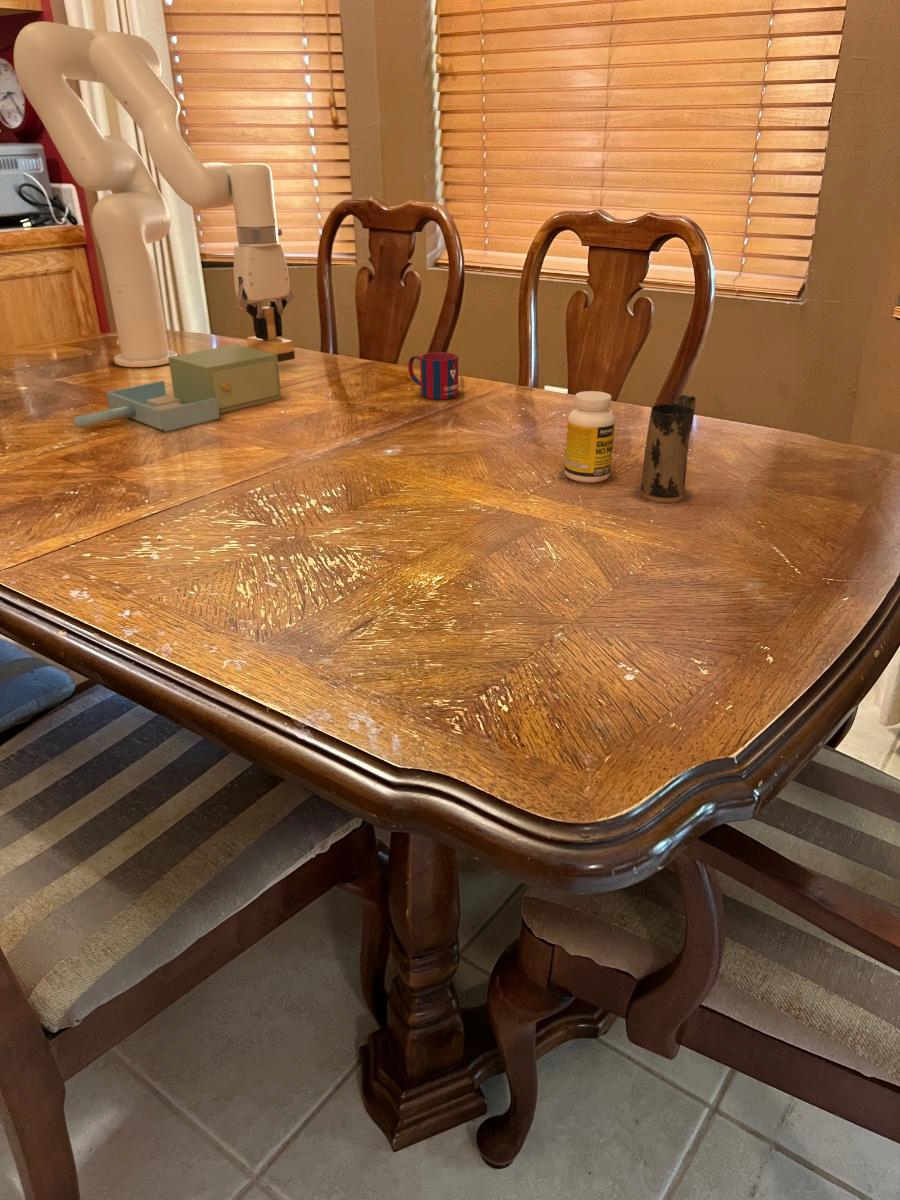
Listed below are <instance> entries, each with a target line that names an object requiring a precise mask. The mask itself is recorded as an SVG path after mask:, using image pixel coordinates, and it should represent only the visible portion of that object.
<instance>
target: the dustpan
mask: <svg viewBox="0 0 900 1200" xmlns="http://www.w3.org/2000/svg"><path fill="white" fill-rule="evenodd" d="M105 393H106V399H107V404H108V409H104V410H101V411H96V412H92V413H86V414H82V415H77V416H74V418H73V419H72V423H73V425H74V426H75V427H76V428H78V429H83V428H87V427H92V426H97V425H100V424H105V423H110V422H114V421H118V420H122V419H123V420H124V419H128V418H129V419H131V420H134V421H137V422H139V423H142V424H144V425H147V426H149V427H153V429H156V430H160V431H162V432H164V433H165V432H170V431H174V430H178V429H183V428H186V427H190V426H194V425H199V424H203V423H207V422H211V421H215V420H219V419H220V414H219V410H218V403H217V398H212V399H207V400H203V401H198V402H194V403H189V404H182V403H180V404H181V405H180V406H176V407H171V408H167V409H162V410H159V409H156V408H153V407H150V406H147V401H146V400H149V399H153V398H158V397H163V396H167V392H166V385H165V381H164V380H160V381H155V382H150V383H145V384H140V385H133V386H130V387H125V388H119V389H115V390H110V391H106V392H105Z"/></svg>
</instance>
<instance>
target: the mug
mask: <svg viewBox="0 0 900 1200" xmlns="http://www.w3.org/2000/svg"><path fill="white" fill-rule="evenodd" d="M696 402H697V401H696V397H695V396H694V395H687V394H682V395H680V396H679V397H678V398H677V399H676V400H675V401H673V402H672V403H671V404H670V403H665V404H656V405H654V406H652V407H651V411H650V416H649V421H648V427H647V434H646V440H645V448H644V456H643V465H642V472H641V484H640V485H641V486H640V495H641V496H642V498H645V499H646V500H649V501H653V502H659V503H674V502H678V501H681V500H683V499H684V498H685V494H686V493H685V490H686V473H687V465H688V464H687V463H688V451H689V445H690V437H691V432H692V427H693V422H694V416H695V408H696V405H697V404H696Z"/></svg>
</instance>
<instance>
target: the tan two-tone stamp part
mask: <svg viewBox="0 0 900 1200" xmlns="http://www.w3.org/2000/svg"><path fill="white" fill-rule="evenodd" d="M262 310H263V318H265V319H266V326H267V335H268V338H267V339H260V338H256V335H253V336H247V337H246V341H247V347H249V348H253V349H257V350H261V351H265V352H269V353H273V354H277V359H278V363H281V362H287V361H291V360H295V359H296V356H295V355H296V354H295V346H294V345H295V343H294V340H292V339H286V338H281V337H278V336H277V335H276V325H275V316H274V307H270V306H269V305H267V306H262Z"/></svg>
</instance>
